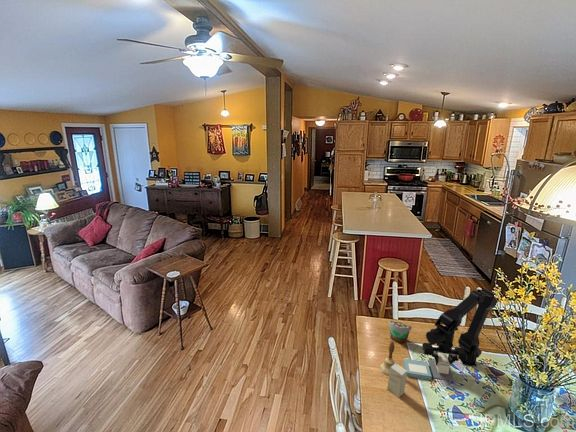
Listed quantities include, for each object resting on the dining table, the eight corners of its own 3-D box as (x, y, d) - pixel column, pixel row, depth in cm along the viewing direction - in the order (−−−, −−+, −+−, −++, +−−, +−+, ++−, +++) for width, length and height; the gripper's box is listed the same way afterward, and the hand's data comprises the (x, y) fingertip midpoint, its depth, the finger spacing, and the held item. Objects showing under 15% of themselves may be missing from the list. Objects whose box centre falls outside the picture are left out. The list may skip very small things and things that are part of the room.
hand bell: (397, 365, 153) (401, 338, 149) (397, 377, 146) (400, 349, 141) (380, 361, 156) (383, 334, 152) (379, 372, 149) (382, 344, 144)
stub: (444, 363, 153) (446, 354, 151) (448, 374, 146) (450, 364, 145) (434, 362, 154) (436, 352, 152) (438, 372, 147) (439, 363, 146)
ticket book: (426, 364, 154) (427, 361, 153) (431, 380, 145) (431, 376, 144) (403, 361, 156) (404, 357, 156) (406, 375, 147) (407, 372, 146)
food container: (385, 340, 172) (387, 324, 169) (387, 333, 177) (389, 318, 175) (408, 347, 167) (410, 331, 164) (410, 340, 172) (412, 325, 169)
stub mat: (447, 363, 155) (448, 362, 155) (454, 381, 144) (455, 380, 144) (427, 360, 157) (427, 359, 157) (433, 378, 146) (433, 377, 146)
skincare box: (386, 389, 139) (389, 366, 136) (392, 384, 142) (395, 362, 139) (399, 398, 134) (402, 375, 131) (404, 393, 137) (408, 370, 134)
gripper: (462, 330, 151) (457, 357, 155) (422, 325, 155) (418, 351, 159) (470, 345, 141) (464, 373, 145) (426, 339, 144) (422, 367, 149)
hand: (441, 365), depth 150 cm, fingers closed on stub, 4 cm apart
